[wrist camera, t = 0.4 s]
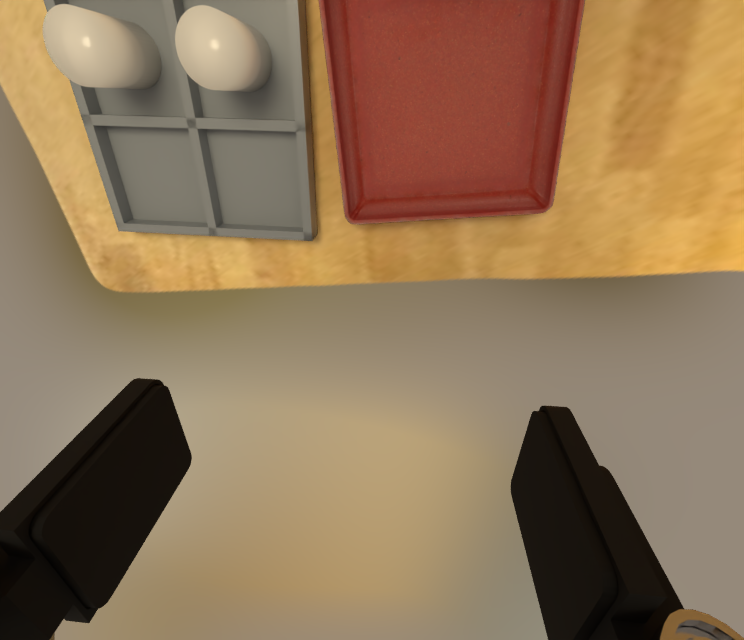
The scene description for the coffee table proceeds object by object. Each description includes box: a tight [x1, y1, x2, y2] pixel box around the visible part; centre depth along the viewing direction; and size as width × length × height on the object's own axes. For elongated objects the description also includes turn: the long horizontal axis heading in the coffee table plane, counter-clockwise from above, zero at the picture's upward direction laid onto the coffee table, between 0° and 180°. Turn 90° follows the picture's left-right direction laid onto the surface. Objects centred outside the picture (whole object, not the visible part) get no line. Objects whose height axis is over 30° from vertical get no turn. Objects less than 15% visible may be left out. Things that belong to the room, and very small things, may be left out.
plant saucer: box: [319, 0, 585, 224], centre depth 30 cm, size 18×18×3 cm
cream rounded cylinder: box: [175, 5, 272, 92], centre depth 27 cm, size 5×5×6 cm
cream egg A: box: [43, 4, 161, 89], centre depth 28 cm, size 5×5×6 cm
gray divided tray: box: [44, 0, 317, 241], centre depth 32 cm, size 19×19×2 cm
